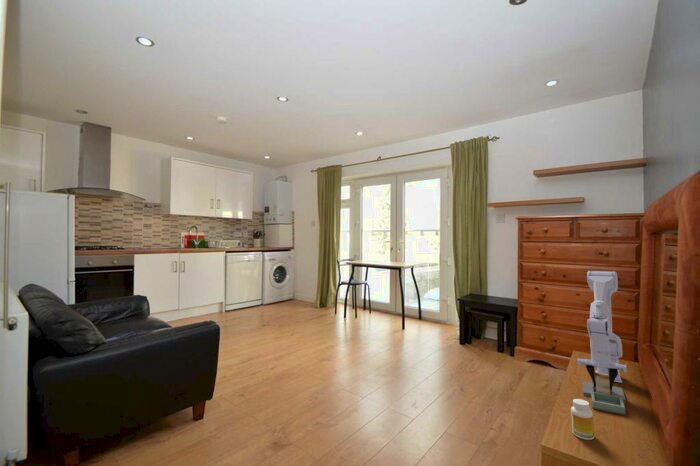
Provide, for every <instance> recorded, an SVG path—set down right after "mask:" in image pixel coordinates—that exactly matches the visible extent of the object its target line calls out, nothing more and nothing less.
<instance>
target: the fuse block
mask: <svg viewBox="0 0 700 466" xmlns="http://www.w3.org/2000/svg"><path fill="white" fill-rule="evenodd" d="M595 381H596V390H595V392H598V393H603V394H609V395H611V392H610V382H609V376H608V374H604V373H597V372H596V371H595Z"/></svg>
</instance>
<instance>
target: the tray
mask: <svg viewBox="0 0 700 466" xmlns="http://www.w3.org/2000/svg"><path fill="white" fill-rule="evenodd" d="M590 399H591V407H592V409H594V410H597V411H602V412H607V413H612V414H615V415H616V414H617V415H621V416H626V407H625V403H623V400H622V397H620V396H614V395H612V394H610V395H609V394H603V393H598V392H596V391H594V392H592V391H591V397H590Z"/></svg>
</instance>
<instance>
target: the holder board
mask: <svg viewBox="0 0 700 466" xmlns="http://www.w3.org/2000/svg"><path fill="white" fill-rule="evenodd" d="M591 391H592V392H595V391H596V387H594V384H593V382H588V381H584V380H583V381H582V392H583V396H584V397H590V398H591ZM610 394H611V395H614V396H620V397H622V400H623V403H624V404H627V401H626V397H625V394H624V390H623V387H618V386H612V390H610Z"/></svg>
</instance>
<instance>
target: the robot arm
mask: <svg viewBox="0 0 700 466" xmlns="http://www.w3.org/2000/svg"><path fill="white" fill-rule="evenodd" d="M618 279H619V278H618V273H617V272H616V271H614V270H613V271H601V270H600V271H597V270H596V271H595V270H593V271H592V270H588V271H587V272H586V280H587V282H586V283H587V285H588V287H589V289H590V291H593V295H594V296H593V297H594V298H593V299H594V301H593V302H590V305H589V306H590V308H589V309H590V310H589V318H587V322H586V328H587V331H588V332H587V333H588V338H589V345H590V359H589V358H577V366H585V368H586V371H587V373H588V374H589V376H590V378H591V381H592V383H593V384H594V387H596V381H595V372H597V373H604V374H608V376H609V382H610V390H612V386H613V385H614V383H620V384H623V380H622V377H621V375H620V372H623V373H628V367H627V364H622V363H620V362H619V358H622V357H623V344H622V339H621V337H620V336H618V335H616V333H614V332H613V319H612V296H613V293H616V292H618V289H619V286H618V285H619V281H618ZM595 368H596V369H595ZM613 387H614V386H613Z"/></svg>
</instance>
